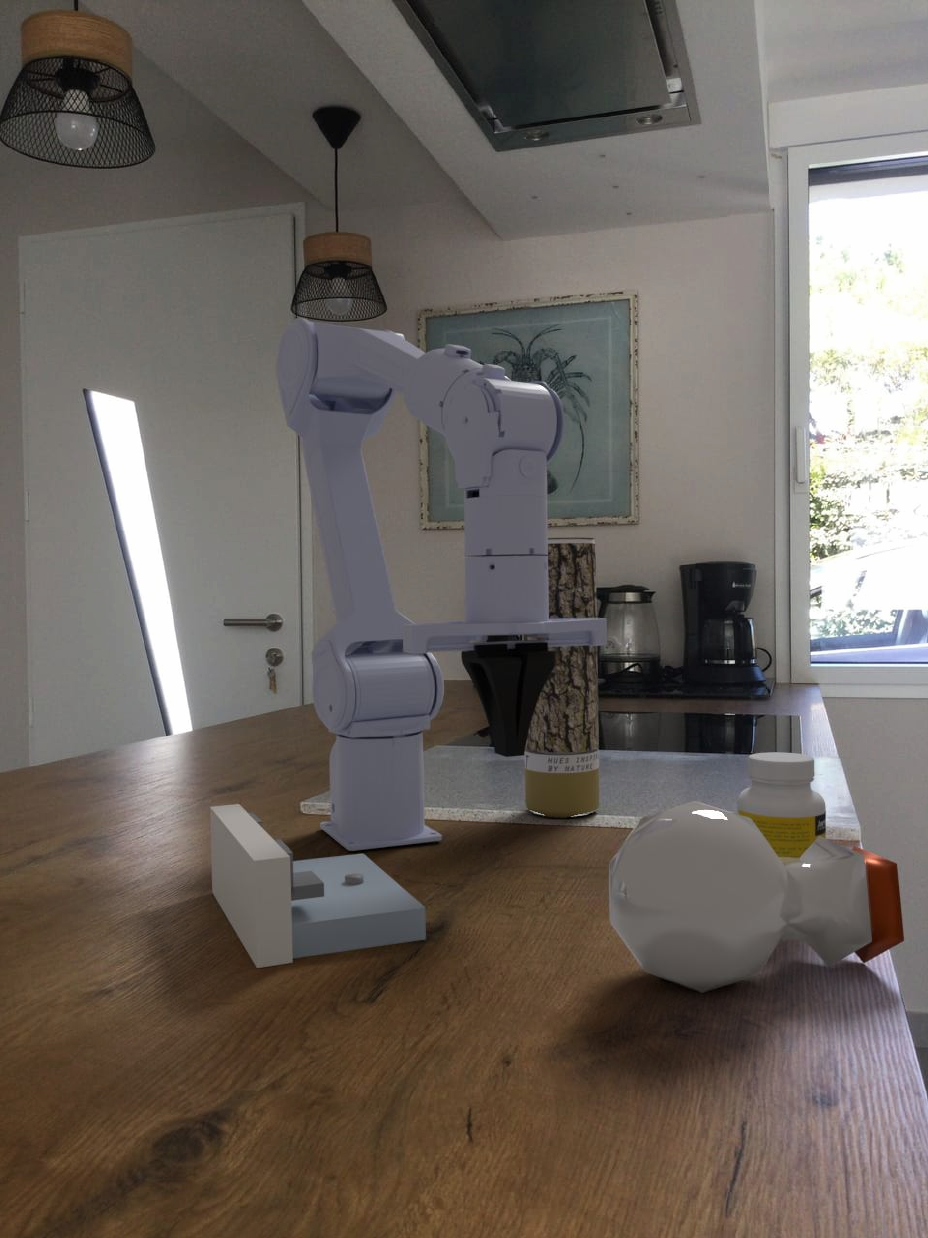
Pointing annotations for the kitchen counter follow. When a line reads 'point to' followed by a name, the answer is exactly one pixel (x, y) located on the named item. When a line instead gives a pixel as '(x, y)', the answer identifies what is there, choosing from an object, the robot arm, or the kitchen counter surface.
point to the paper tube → (567, 695)
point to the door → (353, 908)
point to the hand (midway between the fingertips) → (509, 754)
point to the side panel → (256, 884)
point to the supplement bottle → (784, 802)
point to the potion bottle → (743, 898)
